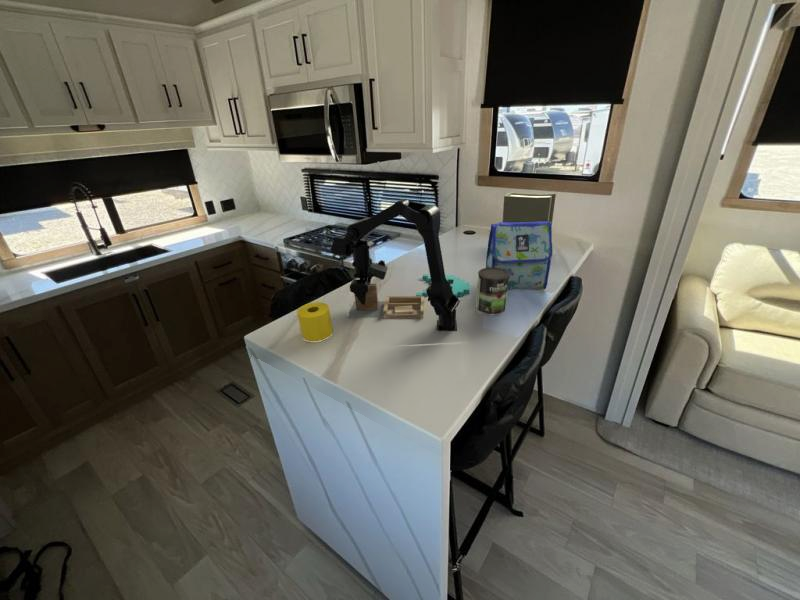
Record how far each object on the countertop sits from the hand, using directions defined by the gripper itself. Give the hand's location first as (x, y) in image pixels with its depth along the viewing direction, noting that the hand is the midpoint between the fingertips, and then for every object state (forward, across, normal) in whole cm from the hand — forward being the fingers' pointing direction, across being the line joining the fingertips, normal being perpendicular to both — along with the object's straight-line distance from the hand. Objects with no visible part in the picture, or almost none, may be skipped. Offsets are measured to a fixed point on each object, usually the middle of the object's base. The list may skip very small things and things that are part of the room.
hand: (365, 298), depth 128 cm
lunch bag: (+5, +20, -57) cm, 61 cm away
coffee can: (+5, +1, -45) cm, 45 cm away
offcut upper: (+4, -2, -14) cm, 15 cm away
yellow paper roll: (+5, -16, +14) cm, 22 cm away
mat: (+5, 0, 0) cm, 5 cm away
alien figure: (+6, +18, -29) cm, 34 cm away
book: (+5, +60, -69) cm, 92 cm away
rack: (+5, 0, -14) cm, 15 cm away
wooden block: (+4, 0, 0) cm, 5 cm away
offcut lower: (+6, -2, -14) cm, 15 cm away
